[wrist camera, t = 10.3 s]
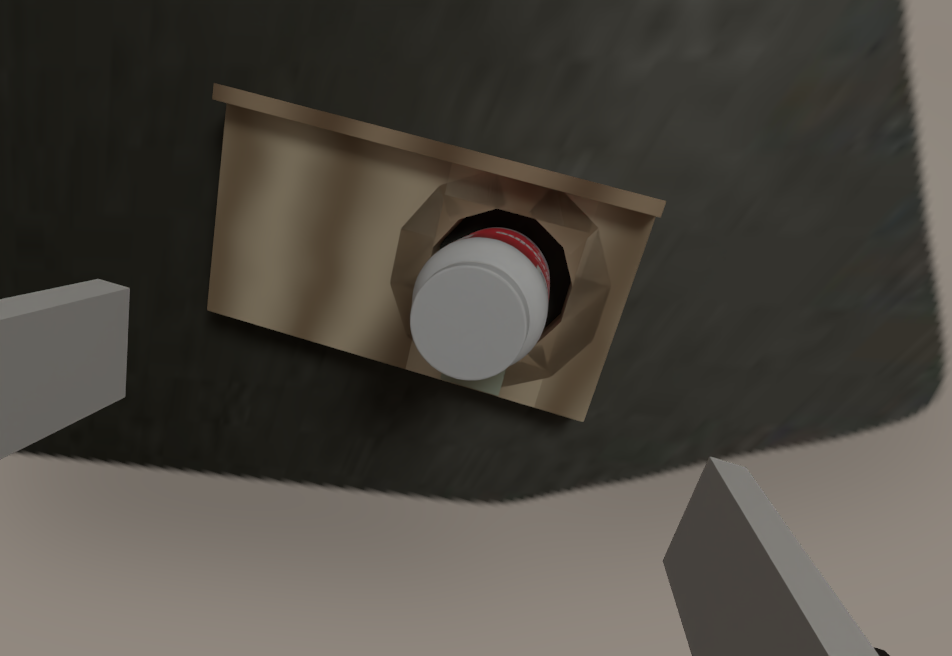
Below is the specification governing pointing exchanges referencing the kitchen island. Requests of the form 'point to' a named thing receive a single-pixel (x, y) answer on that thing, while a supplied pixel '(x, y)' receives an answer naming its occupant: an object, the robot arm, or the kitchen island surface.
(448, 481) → the kitchen island surface
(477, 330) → the pill bottle
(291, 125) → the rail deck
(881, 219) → the kitchen island surface
